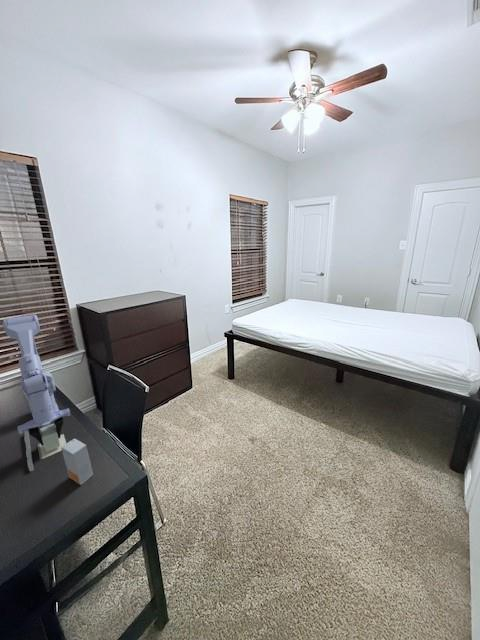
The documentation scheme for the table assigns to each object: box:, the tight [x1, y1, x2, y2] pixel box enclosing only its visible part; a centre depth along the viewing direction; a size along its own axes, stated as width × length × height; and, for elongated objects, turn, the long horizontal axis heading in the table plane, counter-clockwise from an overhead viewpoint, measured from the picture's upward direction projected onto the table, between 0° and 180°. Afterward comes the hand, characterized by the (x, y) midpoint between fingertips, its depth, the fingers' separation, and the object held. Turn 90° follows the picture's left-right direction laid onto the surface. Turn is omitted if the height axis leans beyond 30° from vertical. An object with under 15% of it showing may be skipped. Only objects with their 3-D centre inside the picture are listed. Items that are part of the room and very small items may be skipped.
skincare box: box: [61, 438, 94, 486], centre depth 80 cm, size 6×4×12 cm
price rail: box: [23, 430, 35, 472], centre depth 92 cm, size 22×1×2 cm, turn 41°
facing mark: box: [36, 433, 68, 461], centre depth 94 cm, size 9×8×1 cm
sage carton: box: [39, 423, 60, 452], centre depth 93 cm, size 4×6×6 cm
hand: (50, 440), depth 93 cm, fingers closed on sage carton, 4 cm apart
